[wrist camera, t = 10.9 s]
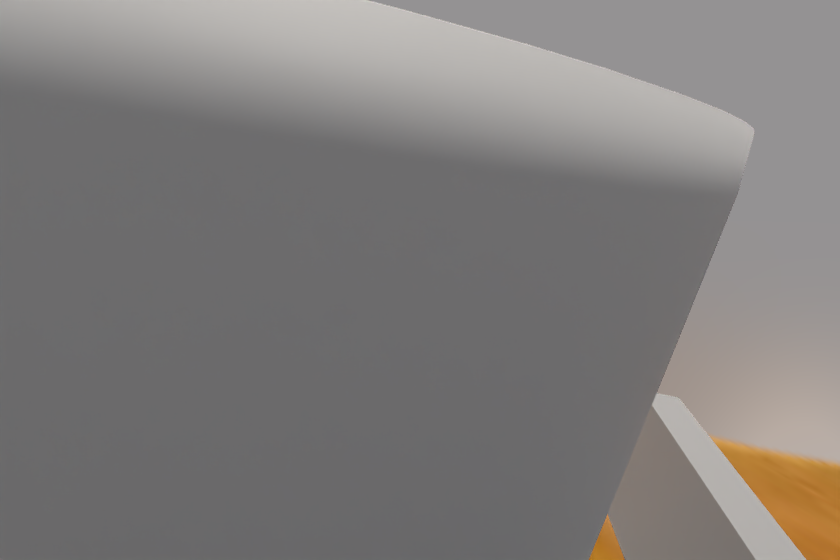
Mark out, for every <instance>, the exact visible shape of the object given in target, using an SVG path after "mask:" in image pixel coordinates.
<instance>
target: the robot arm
mask: <svg viewBox="0 0 840 560" xmlns="http://www.w3.org/2000/svg"><path fill="white" fill-rule="evenodd" d="M608 516H609V519H610V521H611V524H612V527H613V529H614V532H615V534H616V537H617V540H618V542H619V545H620V548H621V550H622V553H623V556H624V558H625V560H806V559H805V558H804V556H803V555H802V554H801V552H800V551H799V550H798V549H797V547H796V546H795V545H794V544H793V542H792V541H791V540H790V538H789V537H788V536H787V535H786V533H785V532H784V531H783V530H782V528H781V527H780V526H779V524H778V523H777V522H776V521H775V519H774V518H773V517H772V516H771V514H770V513H769V512H768V510H767V509H766V508H765V507H764V505H763V504H762V503H761V502H760V500H759V499H758V498H757V496H756V495H755V494H754V493H753V491H752V490H751V489H750V488H749V486H748V485H747V484H746V482H745V481H744V480H743V479H742V477H741V476H740V475H739V474H738V472H737V471H736V470H735V468H734V467H733V466H732V465H731V463H730V462H729V461H728V460H727V458H726V457H725V456H724V454H723V453H722V452H721V451H720V449H719V448H718V447H717V446H716V444H715V443H714V442H713V440H712V439H711V438H710V437H709V435H708V434H707V433H706V432H705V430H704V429H703V428H702V426H701V425H700V424H699V423H698V421H697V420H696V419H695V418H694V416H693V415H692V414H691V412H690V411H689V410H688V409H687V407H686V406H685V405H684V404H683V402H682V401H681V400H680V399H679V398H678V397H674V396H669V395H664V394H659V393H656V396H655V398H654V401H653V403H652V406H651V408H650V411H649V413H648V416H647V418H646V420H645V423H644V425H643V428H642V430H641V433H640V435H639V438H638V440H637V443H636V445H635V448H634V450H633V452H632V455H631V457H630V460H629V462H628V465H627V467H626V470H625V472H624V475H623V477H622V479H621V482H620V484H619V487H618V489H617V492H616V494H615V496H614V499H613V501H612V504H611V506H610V509H609V511H608Z"/></svg>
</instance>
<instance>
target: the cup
mask: <svg viewBox="0 0 840 560" xmlns="http://www.w3.org/2000/svg"><path fill="white" fill-rule="evenodd" d="M753 136H754V129H753V128H752V127H751V126H750V125H749V124H747V123H746V122H745V121H743V120H741V119H739V118H737V117H735V116H733V115H731V114H729V113H727V112H725V111H723V110H721V109H719V108H716V107H714V106H711V105H708V104H706V103H703V102H701V101H698V100H696V99H693V98H691V97H688V96H685V95H683V94H680V93H677V92H674V91H671V90H668V89H665V88H662V87H659V86H656V85H654V84H651V83H648V82H644V81H642V80H639V79H636V78H633V77H630V76H627V75H624V74H621V73H618V72H615V71H612V70H609V69H607V68H604V67H600V66H597V65H593V64H590V63H587V62H584V61H580V60H577V59H574V58H570V57H567V56H564V55H561V54H557V53H554V52H551V51H548V50H544V49H541V48H538V47H534V46H531V45H528V44H525V43H522V42H518V41H514V40H511V39H507V38H504V37H500V36H496V35H493V34H489V33H486V32H482V31H478V30H475V29H472V28H468V27H464V26H461V25H457V24H454V23H450V22H446V21H443V20H439V19H436V18H432V17H428V16H425V15H421V14H417V13H414V12H410V11H407V10H403V9H399V8H395V7H391V6H388V5H384V4H380V3H376V2H372V1H368V0H0V560H589V557H590V555H591V552H592V550H593V548H594V545H595V543H596V540H597V538H598V535H599V533H600V531H601V528H602V526H603V523H604V521H605V518H606V516H607V514H608V511H609V509H610V506H611V504H612V501H613V499H614V496H615V494H616V492H617V489H618V487H619V484H620V482H621V479H622V477H623V475H624V472H625V470H626V467H627V465H628V462H629V460H630V457H631V455H632V452H633V450H634V448H635V445H636V443H637V440H638V438H639V435H640V433H641V430H642V428H643V425H644V423H645V420H646V418H647V416H648V413H649V411H650V408H651V406H652V403H653V401H654V398H655V396H656V393H657V391H658V388H659V386H660V383H661V381H662V378H663V376H664V374H665V371H666V369H667V366H668V364H669V361H670V358H671V356H672V354H673V351H674V349H675V347H676V344H677V342H678V339H679V337H680V334H681V332H682V329H683V327H684V325H685V322H686V320H687V317H688V315H689V312H690V310H691V307H692V305H693V302H694V300H695V297H696V295H697V292H698V290H699V288H700V285H701V283H702V280H703V278H704V275H705V273H706V270H707V268H708V266H709V263H710V261H711V258H712V255H713V253H714V251H715V248H716V246H717V243H718V241H719V238H720V236H721V233H722V231H723V228H724V226H725V223H726V221H727V219H728V216H729V214H730V211H731V209H732V206H733V204H734V202H735V199H736V196H737V194H738V191H739V187H740V183H741V180H742V176H743V172H744V169H745V165H746V162H747V158H748V154H749V150H750V147H751V143H752V139H753Z"/></svg>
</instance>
